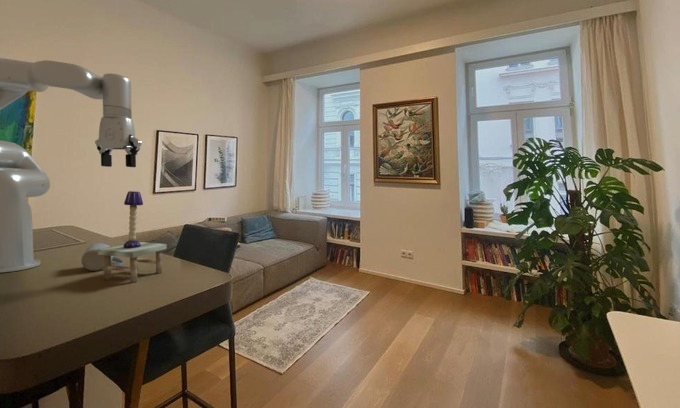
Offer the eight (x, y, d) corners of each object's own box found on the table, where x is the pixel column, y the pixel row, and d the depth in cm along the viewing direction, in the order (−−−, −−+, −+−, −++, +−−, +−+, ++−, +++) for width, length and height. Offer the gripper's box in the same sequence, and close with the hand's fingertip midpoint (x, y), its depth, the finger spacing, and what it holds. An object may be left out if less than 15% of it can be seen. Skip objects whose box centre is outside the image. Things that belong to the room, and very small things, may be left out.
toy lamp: (130, 244, 91) (130, 190, 90) (146, 245, 91) (146, 191, 90) (120, 248, 86) (119, 191, 85) (136, 248, 86) (136, 191, 85)
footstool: (98, 280, 84) (97, 249, 84) (135, 268, 96) (134, 241, 96) (133, 284, 82) (133, 252, 82) (166, 271, 94) (166, 244, 93)
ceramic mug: (80, 273, 90) (80, 248, 90) (85, 266, 97) (85, 243, 96) (123, 269, 96) (123, 246, 95) (124, 263, 103) (124, 241, 102)
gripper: (84, 112, 94) (85, 165, 96) (129, 111, 91) (130, 166, 92) (107, 117, 102) (108, 167, 103) (149, 116, 98) (150, 167, 99)
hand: (118, 166), depth 97 cm, fingers open, 9 cm apart
